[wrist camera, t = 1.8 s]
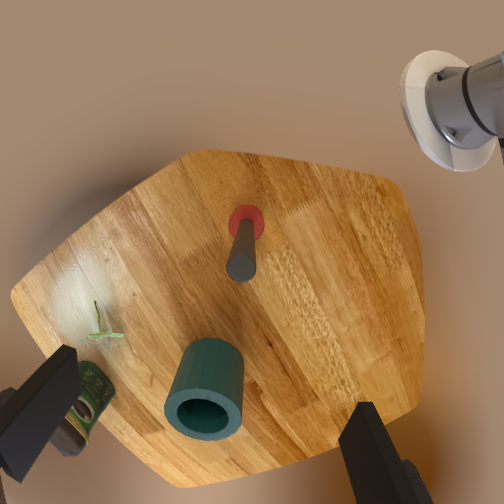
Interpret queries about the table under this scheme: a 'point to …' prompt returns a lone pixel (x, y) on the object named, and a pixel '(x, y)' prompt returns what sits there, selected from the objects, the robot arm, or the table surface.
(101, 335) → the seedling
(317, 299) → the table surface
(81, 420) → the coffee jar
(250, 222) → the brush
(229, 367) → the cup
